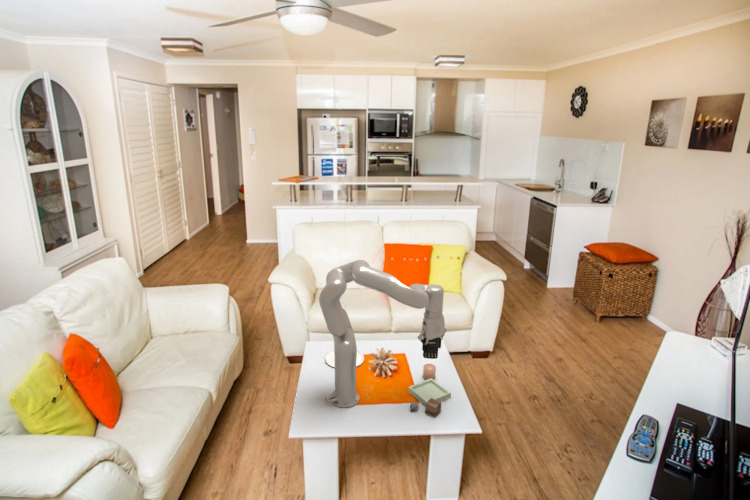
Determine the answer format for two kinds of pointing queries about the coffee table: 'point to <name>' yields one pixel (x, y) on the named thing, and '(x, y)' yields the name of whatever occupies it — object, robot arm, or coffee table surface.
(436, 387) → the tray
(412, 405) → the ball
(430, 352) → the battery
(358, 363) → the plate
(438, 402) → the block
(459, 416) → the coffee table surface
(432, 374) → the beige round piece
